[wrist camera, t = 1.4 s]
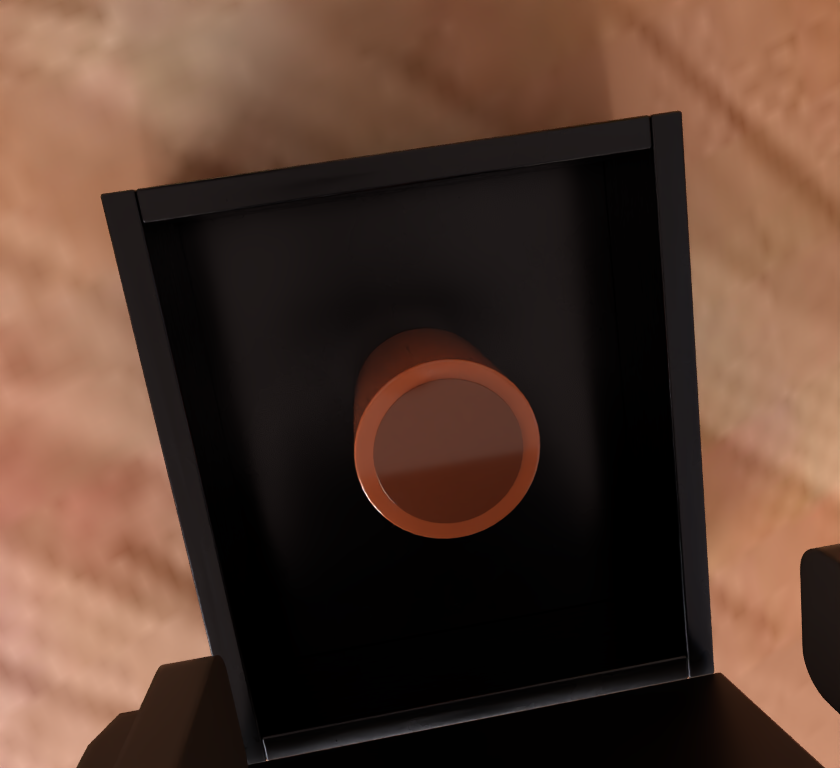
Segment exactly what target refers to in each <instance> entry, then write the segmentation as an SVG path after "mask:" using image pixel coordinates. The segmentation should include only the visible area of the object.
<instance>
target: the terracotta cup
mask: <svg viewBox="0 0 840 768" xmlns="http://www.w3.org/2000/svg"><path fill="white" fill-rule="evenodd" d="M353 418H354V460H355V468H356V472H357V476H358V480H359V482H360V484H361V487H362V489H363V491H364V493H365V495H366V496H367V498H368V500H369V501H370V502H371V504H372V505H373V506H374V508H375V509H376V510H377V511H378V512H379V513H380V514H381V515H382V516H383V517H385V518H386V519H387V520H389V521H390V522H391V523H393V524H394V525H396V526H398V527H400V528H401V529H403V530H406V531H408V532H411V533H413V534H416V535H420V536H424V537H430V538H447V539H449V538H458V537H464V536H468V535H472V534H475V533H477V532H480V531H483V530H485V529H487V528H489V527H491V526H493V525H494V524H496V523H497V522H499V521H500V520H502V519H503V518H504V517H506V516H507V515H508V514H509V513H510V512H511V511H512V510H513V509H514V508H515V507H516V506H517V505H518V504H519V503H520V501H521V500H522V499H523V497H524V496H525V494H526V493H527V491H528V489H529V487H530V485H531V483H532V481H533V479H534V476H535V473H536V471H537V467H538V462H539V456H540V434H539V428H538V423H537V420H536V417H535V414H534V412H533V410H532V408H531V406H530V404H529V402H528V400H527V399H526V397H525V396H524V394H523V393H522V392H521V391H520V390H519V388H518V387H517V386H516V385H515V384H514V383H513V382H512V381H511V380H510V379H509V378H508V377H507V376H506V375H504V374H503V373H502V372H501V371H500V370H499V369H498V368H497V367H496V366H495V365H494V364H493V363H492V362H491V361H490V360H489V359H488V358H487V357H486V356H484V355H483V354H482V353H481V352H480V351H479V350H478V349H477V348H476V347H475V346H474V345H472V344H471V343H470V342H469V341H467V340H466V339H464V338H463V337H461V336H459V335H457V334H455V333H452V332H449V331H446V330H442V329H436V328H418V329H412V330H407V331H404V332H401V333H399V334H396V335H394V336H392V337H390V338H388V339H387V340H386V341H384V342H383V343H381V344H380V345H379V346H378V347H377V348H376V349H374V350H373V351H372V353H371V354H370V355H369V356H368V357H367V359H366V360H365V362H364V364H363V365H362V367H361V369H360V371H359V373H358V376H357V379H356V382H355V387H354V395H353Z"/></svg>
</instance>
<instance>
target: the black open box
mask: <svg viewBox="0 0 840 768" xmlns="http://www.w3.org/2000/svg"><path fill="white" fill-rule="evenodd" d="M101 200H102V204H103V208H104V212H105V217H106V221H107V225H108V229H109V233H110V237H111V241H112V245H113V250H114V254H115V258H116V262H117V266H118V270H119V274H120V279H121V283H122V287H123V291H124V295H125V299H126V303H127V307H128V312H129V316H130V320H131V324H132V328H133V332H134V336H135V340H136V345H137V349H138V353H139V357H140V361H141V365H142V369H143V374H144V378H145V382H146V386H147V390H148V394H149V398H150V402H151V407H152V411H153V415H154V419H155V423H156V427H157V431H158V435H159V440H160V444H161V448H162V452H163V456H164V460H165V464H166V469H167V473H168V477H169V481H170V485H171V489H172V493H173V497H174V502H175V506H176V510H177V514H178V518H179V522H180V526H181V530H182V535H183V539H184V543H185V547H186V551H187V555H188V559H189V564H190V568H191V572H192V576H193V580H194V584H195V588H196V592H197V597H198V601H199V605H200V609H201V613H202V617H203V621H204V625H205V630H206V634H207V638H208V642H209V646H210V650H211V654H212V656H214V655H219V656H221V658H222V659H223V661H224V663H225V666H226V669H227V673H228V677H229V682H230V686H231V691H232V695H233V699H234V704H235V708H236V712H237V717H238V721H239V726H240V730H241V734H242V739H243V743H244V747H245V752H246V757H247V763H248V765H249V764H254V763H259V762H264V761H266V758H267V760H269V761H270V760H275V759H280V758H285V757H290V756H295V755H300V754H305V753H311V752H316V751H321V750H326V749H331V748H336V747H341V746H346V745H351V744H357V743H362V742H367V741H372V740H377V739H382V738H387V737H392V736H397V735H403V734H408V733H413V732H418V731H423V730H428V729H433V728H438V727H443V726H449V725H454V724H459V723H464V722H469V721H474V720H479V719H484V718H489V717H495V716H500V715H505V714H510V713H515V712H520V711H525V710H530V709H536V708H541V707H546V706H551V705H556V704H561V703H566V702H571V701H576V700H582V699H587V698H592V697H597V696H602V695H607V694H612V693H617V692H622V691H628V690H633V689H638V688H643V687H648V686H653V685H658V684H663V683H668V682H674V681H679V680H684V679H687V678H688V677H689V678H694V677H699V676H704V675H709V674H713V673H714V661H713V644H712V627H711V609H710V592H709V575H708V558H707V541H706V523H705V506H704V489H703V472H702V455H701V437H700V420H699V403H698V386H697V368H696V351H695V334H694V317H693V300H692V282H691V265H690V248H689V231H688V214H687V196H686V179H685V162H684V145H683V128H682V113H681V111H673V112H666V113H659V114H653V115H650V116H647V115H645V116H638V117H631V118H625V119H618V120H611V121H604V122H597V123H590V124H583V125H576V126H569V127H562V128H555V129H548V130H541V131H535V132H528V133H521V134H514V135H507V136H500V137H493V138H486V139H479V140H472V141H465V142H458V143H452V144H445V145H438V146H431V147H424V148H417V149H410V150H403V151H396V152H389V153H382V154H375V155H369V156H362V157H355V158H348V159H341V160H334V161H327V162H320V163H313V164H306V165H299V166H292V167H286V168H279V169H272V170H265V171H258V172H251V173H244V174H237V175H230V176H223V177H216V178H209V179H203V180H196V181H189V182H182V183H175V184H168V185H161V186H154V187H147V188H140V189H137V190H126V191H119V192H112V193H105V194H102V195H101ZM418 328H436V329H442V330H446V331H449V332H452V333H455V334H457V335H459V336H461V337H463V338H464V339H466V340H467V341H469V342H470V343H471V344H472V345H474V346H475V347H476V348H477V349H478V350H479V351H480V352H481V353H482V354H483V355H484V356H486V357H487V358H488V359H489V360H490V361H491V362H492V363H493V364H494V365H495V366H496V367H497V368H498V369H499V370H500V371H501V372H502V373H503V374H504V375H506V376H507V377H508V378H509V379H510V380H511V381H512V382H513V383H514V384H515V385H516V386H517V387H518V388H519V390H520V391H521V392H522V393H523V394H524V396H525V397H526V399H527V400H528V402H529V404H530V406H531V408H532V410H533V412H534V414H535V417H536V420H537V423H538V428H539V434H540V456H539V462H538V467H537V471H536V473H535V476H534V479H533V481H532V483H531V485H530V487H529V489H528V491H527V493H526V494H525V496H524V497H523V499H522V500H521V501H520V503H519V504H518V505H517V506H516V507H515V508H514V509H513V510H512V511H511V512H510V513H509V514H508V515H507V516H506V517H504V518H503V519H502V520H500V521H499V522H497V523H496V524H494V525H493V526H491V527H489V528H487V529H485V530H483V531H480V532H477V533H475V534H472V535H468V536H464V537H458V538H449V539H447V538H430V537H424V536H420V535H416V534H413V533H411V532H408V531H406V530H403V529H401V528H400V527H398V526H396V525H394V524H393V523H391V522H390V521H389V520H387V519H386V518H385V517H383V516H382V515H381V514H380V513H379V512H378V511H377V510H376V509H375V508H374V506H373V505H372V504H371V502H370V501H369V500H368V498H367V496H366V495H365V493H364V491H363V489H362V487H361V484H360V482H359V480H358V476H357V472H356V468H355V460H354V418H353V395H354V387H355V382H356V379H357V376H358V373H359V371H360V369H361V367H362V365H363V364H364V362H365V360H366V359H367V357H368V356H369V355H370V354H371V353H372V351H373V350H374V349H376V348H377V347H378V346H379V345H380V344H381V343H383V342H384V341H386V340H387V339H388V338H390V337H392V336H394V335H396V334H399V333H401V332H404V331H407V330H412V329H418Z"/></svg>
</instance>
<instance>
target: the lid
mask: <svg viewBox="0 0 840 768" xmlns="http://www.w3.org/2000/svg"><path fill="white" fill-rule="evenodd" d="M248 768H824V767H823V766H822V765H821V764H820V763H819V762H818V761H817V760H816V759H815V758H814V757H812V756H811V755H810V754H809V753H808V752H807V751H806V750H805V749H804V748H803V747H801V746H800V745H799V744H798V743H797V742H796V741H795V740H794V739H793V738H792V737H791V736H789V735H788V734H787V733H786V732H785V731H784V730H783V729H782V728H781V727H780V726H779V725H777V724H776V723H775V722H774V721H773V720H772V719H771V718H770V717H769V716H768V715H767V714H765V713H764V712H763V711H762V710H761V709H760V708H759V707H758V706H757V705H756V704H754V703H753V702H752V701H751V700H750V699H749V698H748V697H747V696H746V695H745V694H744V693H742V692H741V691H740V690H739V689H738V688H737V687H736V686H735V685H734V684H733V683H732V682H730V681H729V680H728V679H727V678H726V677H725V676H724V675H723V674H722V673H715V674H709V675H704V676H699V677H694V678H689V679H684V680H679V681H674V682H668V683H663V684H658V685H653V686H648V687H643V688H638V689H633V690H628V691H622V692H617V693H612V694H607V695H602V696H597V697H592V698H587V699H582V700H576V701H571V702H566V703H561V704H556V705H551V706H546V707H541V708H536V709H530V710H525V711H520V712H515V713H510V714H505V715H500V716H495V717H489V718H484V719H479V720H474V721H469V722H464V723H459V724H454V725H449V726H443V727H438V728H433V729H428V730H423V731H418V732H413V733H408V734H403V735H397V736H392V737H387V738H382V739H377V740H372V741H367V742H362V743H357V744H351V745H346V746H341V747H336V748H331V749H326V750H321V751H316V752H311V753H305V754H300V755H295V756H290V757H285V758H280V759H275V760H270V761H264V762H259V763H254V764H249V765H248Z"/></svg>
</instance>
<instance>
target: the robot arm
mask: <svg viewBox="0 0 840 768" xmlns="http://www.w3.org/2000/svg"><path fill="white" fill-rule="evenodd" d="M800 578H801V612H802V646H803V656H804V661H805V664H806V667H807V670H808V673H809V675H810V677H811V680H812V682H813V683H814V685H815V687H816V688H817V690H818V692H819V693H820V694H821V696H822V697H823V698H824V699H825V700H826V701H827V702H828V703H829V704H830V705H831V706H832V707H833V708H834V709H835V710H836V711H837V712H838V713H839V714H840V544H835V545H830V546H824V547H819V548H813V549H809V550H807V551H806V552H805V553H804V554H803V556H802V559H801V564H800ZM77 768H248V763H247V757H246V752H245V747H244V743H243V739H242V734H241V730H240V726H239V721H238V717H237V712H236V708H235V704H234V699H233V695H232V691H231V686H230V682H229V677H228V673H227V669H226V666H225V663H224V661H223V659H222V658H221V656H219V655H214V656H209V657H203V658H198V659H192V660H187V661H181V662H176V663H170V664H165V665H162V666H160V667H159V668H158V670H157V672H156V674H155V676H154V678H153V680H152V683H151V685H150V687H149V689H148V691H147V694H146V696H145V698H144V700H143V702H142V705H141V707H140V709H139V710H136V711H131V712H126V713H120V714H119V715H118V716H117V717H116V718H115V719H114V720H113V721H112V722H111V723H110V724H109V725H108V726H107V727H106V728H105V729H104V730H103V731H102V732H101V733H100V734H99V735H98V736H97V737H96V738H95V739H94V740H93V741H92V742H91V743H90V744H89V745H88V747H87V749H86V750H85V752H84V754H83V756H82V758H81V760H80V762H79V764H78V766H77Z"/></svg>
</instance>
